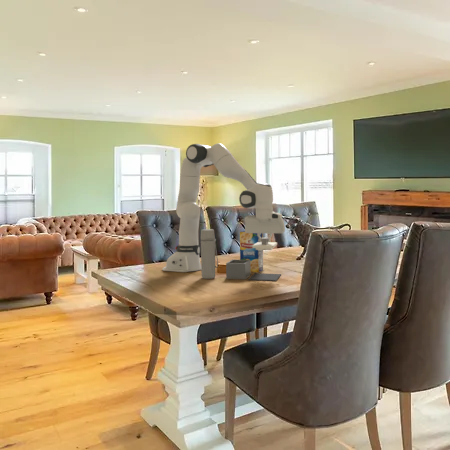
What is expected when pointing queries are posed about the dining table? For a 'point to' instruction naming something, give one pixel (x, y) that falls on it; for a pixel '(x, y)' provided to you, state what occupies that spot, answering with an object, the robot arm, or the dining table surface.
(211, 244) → the water bottle
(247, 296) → the dining table surface
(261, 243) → the lid
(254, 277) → the mat
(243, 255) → the beverage box
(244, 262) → the storage box
